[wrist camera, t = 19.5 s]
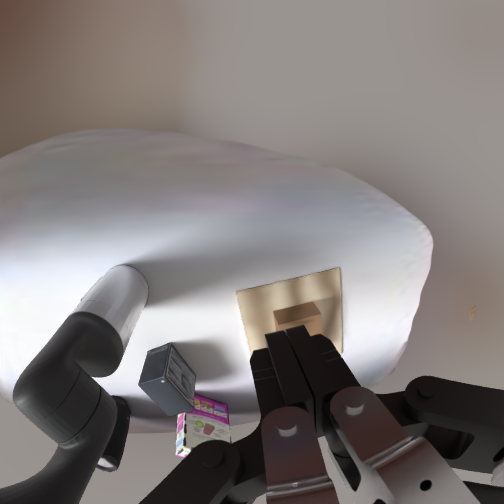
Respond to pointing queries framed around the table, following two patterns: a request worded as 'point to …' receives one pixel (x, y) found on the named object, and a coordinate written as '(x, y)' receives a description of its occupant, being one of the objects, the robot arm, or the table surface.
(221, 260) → the table surface
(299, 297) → the beige cloth mat
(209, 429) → the candy bar box
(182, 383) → the small box
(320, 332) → the walnut block
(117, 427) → the portable speaker
